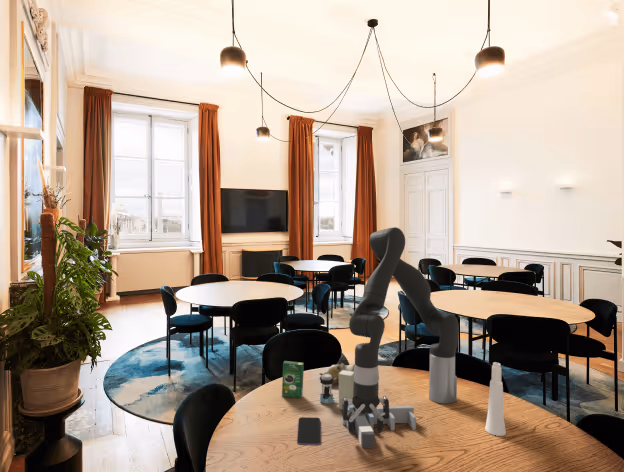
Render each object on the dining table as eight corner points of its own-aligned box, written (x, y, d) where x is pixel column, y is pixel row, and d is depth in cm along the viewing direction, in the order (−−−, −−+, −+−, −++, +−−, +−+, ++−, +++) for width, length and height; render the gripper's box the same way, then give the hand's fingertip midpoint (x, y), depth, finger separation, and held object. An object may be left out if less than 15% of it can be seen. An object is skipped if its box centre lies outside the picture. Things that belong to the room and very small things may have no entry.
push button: (337, 399, 142) (337, 373, 141) (337, 405, 136) (337, 378, 136) (319, 398, 142) (319, 372, 142) (319, 405, 137) (319, 378, 136)
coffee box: (303, 395, 144) (304, 361, 144) (302, 398, 142) (302, 364, 141) (283, 393, 146) (284, 360, 146) (281, 396, 143) (282, 362, 143)
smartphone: (296, 443, 111) (298, 417, 126) (296, 447, 111) (298, 420, 126) (321, 444, 111) (320, 417, 126) (321, 447, 111) (320, 420, 126)
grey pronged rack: (411, 420, 127) (412, 403, 127) (418, 429, 121) (419, 411, 120) (342, 422, 124) (342, 405, 124) (345, 432, 118) (345, 414, 118)
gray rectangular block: (353, 427, 122) (353, 414, 122) (364, 426, 122) (364, 414, 122) (362, 448, 110) (362, 434, 110) (374, 447, 110) (374, 433, 110)
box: (355, 407, 136) (356, 371, 135) (351, 412, 132) (352, 375, 131) (341, 404, 138) (342, 369, 138) (337, 409, 134) (338, 373, 134)
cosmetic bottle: (507, 438, 116) (508, 367, 116) (485, 434, 118) (487, 365, 118) (504, 428, 122) (505, 361, 122) (484, 425, 124) (485, 359, 124)
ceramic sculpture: (358, 364, 154) (323, 368, 152) (359, 385, 154) (324, 389, 152) (351, 356, 165) (318, 360, 162) (352, 376, 165) (319, 379, 162)
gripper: (385, 373, 118) (384, 425, 118) (340, 374, 116) (339, 426, 116) (392, 383, 110) (391, 438, 110) (345, 384, 109) (344, 439, 109)
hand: (365, 432), depth 113 cm, fingers open, 8 cm apart
